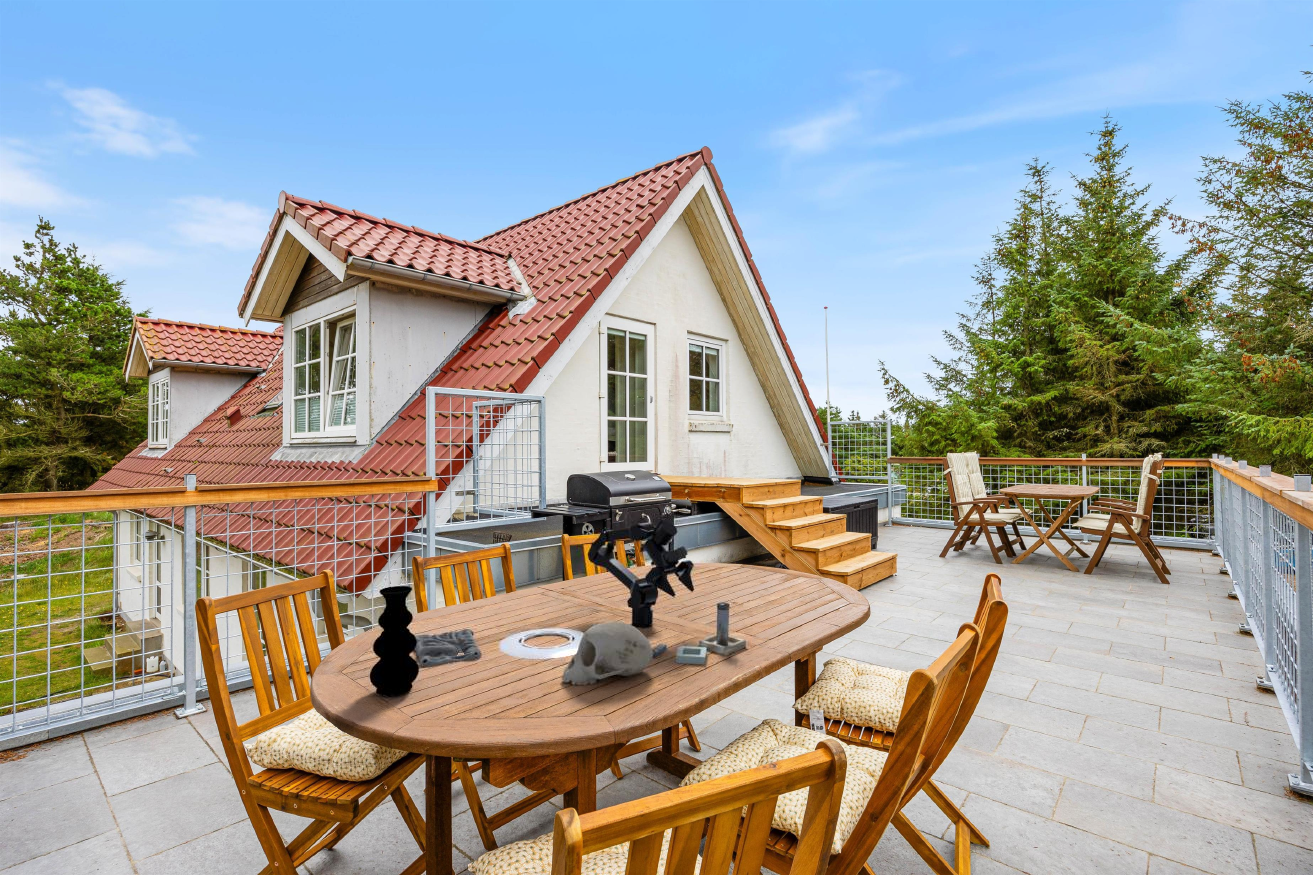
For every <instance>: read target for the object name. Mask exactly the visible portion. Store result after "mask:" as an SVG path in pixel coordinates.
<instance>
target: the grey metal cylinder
mask: <svg viewBox="0 0 1313 875" xmlns="http://www.w3.org/2000/svg"><path fill="white" fill-rule="evenodd" d="M729 625H730V604H729V603H728V602H723V601H722V602H717V603H716V633H715V634H716V644H718V645H721V646H728V637H729V636H730V635H729V633H730V632H729V630H730V629H729V628H730V626H729Z"/></svg>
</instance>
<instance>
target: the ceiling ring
mask: <svg viewBox="0 0 1313 875" xmlns="http://www.w3.org/2000/svg"><path fill="white" fill-rule="evenodd" d="M583 632H584V631H583ZM583 632H582V631H581V630H580V631H579V630H577V629H570V628H568V629H567V628H556V627H555V628H538V629H530V630H524V631H521V632H517V633H514V634H511V635H509V636H507V637H505V638H504V639H502V640H501V641H500V642H499V644H498V649H499V650H500V651H501V652H502V653H503V654H506V655H508V656H511V657H515V658H519V659H520V658H522V659H529V660H530V659H532V660H534V659H535V660H541V659H543V660H544V659H545V660H547V659H548V660H549V659H557V658H562V657H563V658H564V657H567V656H574V655H575V654H576V652H577V650H578V648H579V644H580V641H581V639H582V636H583V634H584V633H585V632H584V633H583ZM542 635H559V636H563V637H566V638H568V639H569V640H568V641H567V642H565V643H563V644H559V645H555V646H546V647H545V646H544V647H543V646H540V647H539V646H538V647H537V646H531V645H529V644H526V643H525V641H526V640H527V639H529V638H532V637H536V636H542ZM573 638H574V639H573ZM520 641H521V642H520Z"/></svg>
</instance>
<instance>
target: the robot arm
mask: <svg viewBox="0 0 1313 875" xmlns="http://www.w3.org/2000/svg"><path fill="white" fill-rule="evenodd" d="M677 534H678V529H677V527H676V526H675V525H673V523H671V522H669V521H667V519H664V518H663V519H660V521H659V523H658V524H657V525H656V526H655V525H654V524H653V523H652V522H642V523H635V524H632V525H631V526H629V527H627V528H622V529H614V530H613V529H609V530H603V531H601V532H600V534H599V536H598V538H596V540H594V542H592V543H591V546H590V547H589V549H588V552H587V558H588V560H589V562H590V563H591V564H593V565H595V566H597V567H601V568H604V569H606V570H607V571H608V572H609V573H610V574H611V575H612V576H614V577H615V579H617V580H618V581H619V582H620V583H621V584H623V586H625V587H626V588H627V589H628V591H629V595H630V597H629V598H628V599H627V600H626V603H627V607H628V608H630V609H631V623H630V625H632V626H634V627H635V628H637V627H639V628H650V627H651V626H652V625H653V622H654V610H653V609H652V606H656V604H657V600H658V598H659V590H660V591H662V592H664V593H666V594H668V595H669V596H670V597H672V598H674V597H676V592H675V590H674V589H673V587H672V584H670V581H669V580H668V576H670V575H675V576H676V577H677V580H678V581H679V582H680V583H681V584H682V585H683V586H684V587H685V588H687V590H688V591H690V592H691V593H692V592H694V591H695V588H694V585H693V580H692V576H691V574H692V573H691V572H692V570H693V567H695V564H694V563H693V561H692V560H682V559H686V558H687V555H688V550H687V549H686V547H685V546H683V545H682V546H679V547H677V548H676V549H673V550H666V548H665V547H664V546H668V544H670V543H671V541H672V540H673V539H674V537H675V536H676V535H677ZM620 540H631V541H636V542H641V541H645V542H644V543H640V549H639V552H640V553H643V552H644V553H645V552H646V554H647V555H648V556H649V559H650V560H651V562H650V565H651V566H652V568H651V569H650V570H649V571H648V572H647V573H646V574H645V577H642V578H639V577H638V576H636V575H635V574H634V573H633V571H631V570H629V569H628V568H627V567H626V565H624V564H622V563H621V561H619V560H618V559H617V558H615V553H614V550H615V541H620ZM680 560H681V562H680ZM653 566H655V567H653ZM658 589H659V590H658Z"/></svg>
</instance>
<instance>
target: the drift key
mask: <svg viewBox="0 0 1313 875" xmlns="http://www.w3.org/2000/svg"><path fill="white" fill-rule="evenodd" d="M652 650H653V657H652V659H657V658H659V657H658V656H661V655H662V654H663V653H665V652H666V651H667V644H663V643H659V644H658V645H656V646H655V647H654V648H652Z"/></svg>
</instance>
